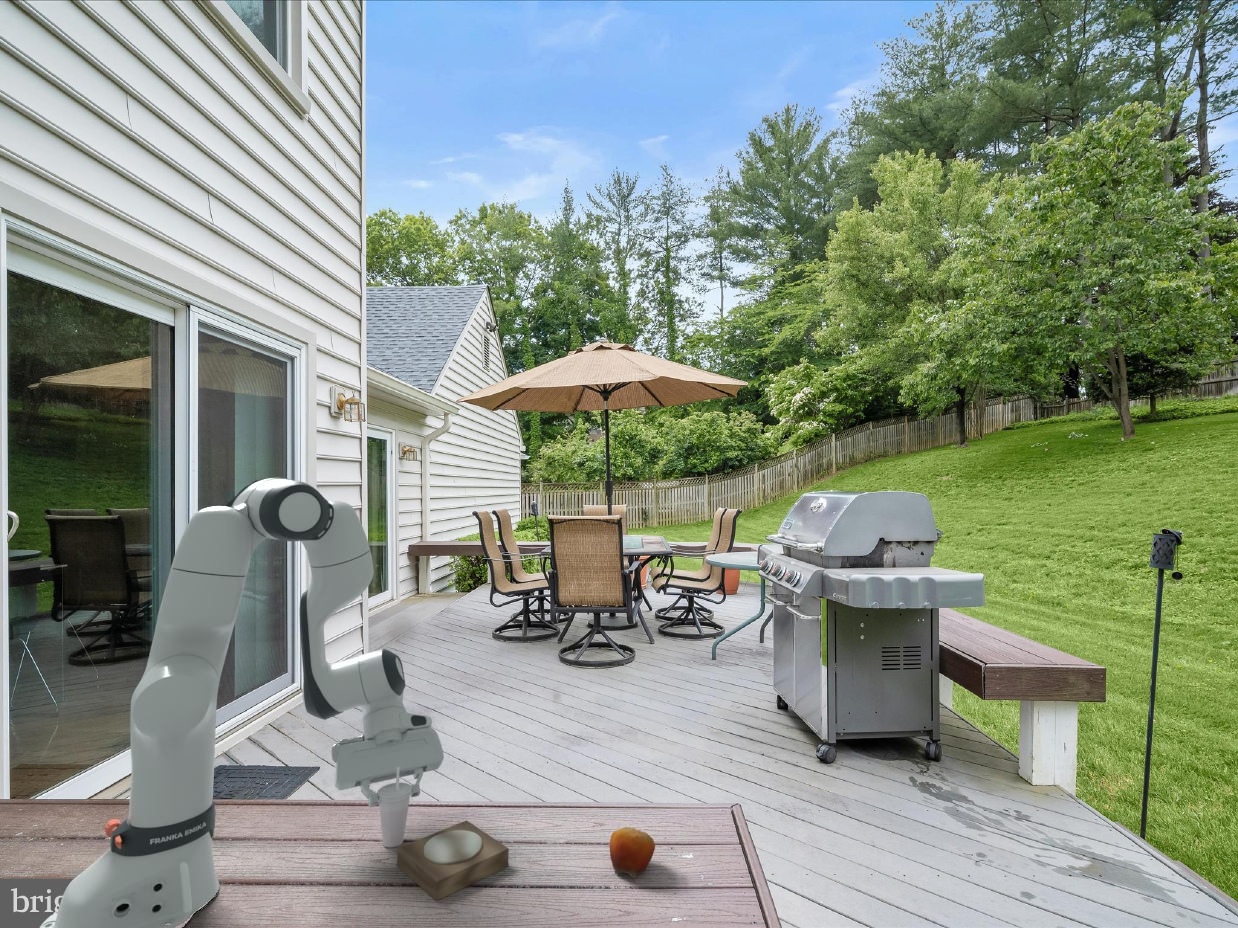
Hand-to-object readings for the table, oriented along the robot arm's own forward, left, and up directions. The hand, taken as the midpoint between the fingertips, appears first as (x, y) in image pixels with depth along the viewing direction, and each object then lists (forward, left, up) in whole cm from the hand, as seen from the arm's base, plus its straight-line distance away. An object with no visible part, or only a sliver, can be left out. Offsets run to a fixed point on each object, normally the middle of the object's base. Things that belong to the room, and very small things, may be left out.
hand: (395, 800), depth 117 cm
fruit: (+26, -37, -8) cm, 46 cm away
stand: (+4, -14, -8) cm, 17 cm away
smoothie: (0, +1, -8) cm, 8 cm away
